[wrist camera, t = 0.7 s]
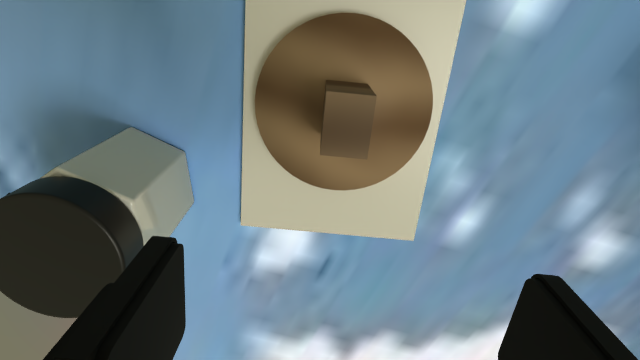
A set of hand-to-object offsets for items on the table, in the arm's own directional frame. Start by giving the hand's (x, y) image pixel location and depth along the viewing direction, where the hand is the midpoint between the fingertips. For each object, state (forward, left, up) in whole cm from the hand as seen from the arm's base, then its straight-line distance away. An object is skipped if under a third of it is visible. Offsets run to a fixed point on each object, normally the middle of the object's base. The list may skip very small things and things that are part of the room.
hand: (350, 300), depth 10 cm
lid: (-1, +1, -21) cm, 21 cm away
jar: (+7, -15, -21) cm, 27 cm away
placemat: (0, +1, -21) cm, 21 cm away
